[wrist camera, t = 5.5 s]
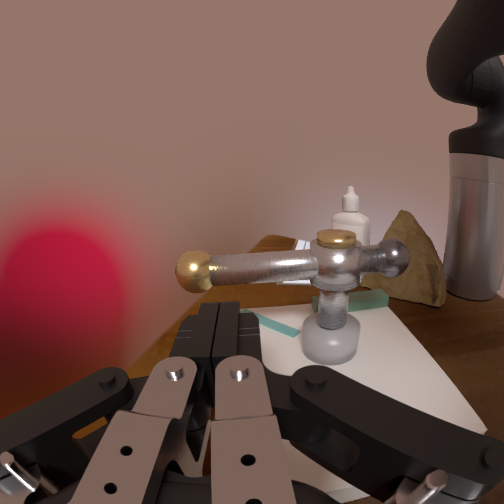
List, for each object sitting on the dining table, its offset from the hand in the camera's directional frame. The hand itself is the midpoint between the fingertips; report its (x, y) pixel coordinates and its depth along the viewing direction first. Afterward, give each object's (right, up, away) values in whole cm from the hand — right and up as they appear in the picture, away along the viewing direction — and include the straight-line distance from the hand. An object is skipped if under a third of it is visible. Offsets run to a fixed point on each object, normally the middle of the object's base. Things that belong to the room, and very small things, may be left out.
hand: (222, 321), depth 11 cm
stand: (+7, -7, +6) cm, 12 cm away
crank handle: (+4, -2, +7) cm, 8 cm away
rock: (+20, -3, +19) cm, 27 cm away
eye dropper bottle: (+15, 0, +28) cm, 32 cm away
